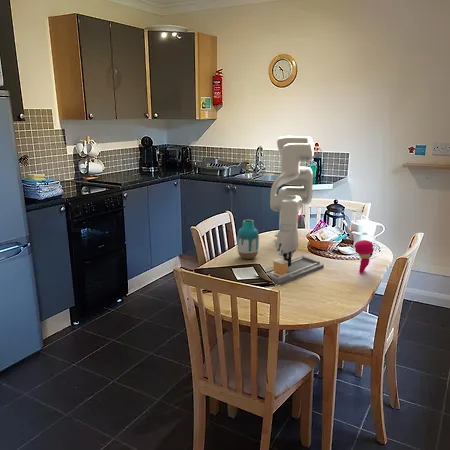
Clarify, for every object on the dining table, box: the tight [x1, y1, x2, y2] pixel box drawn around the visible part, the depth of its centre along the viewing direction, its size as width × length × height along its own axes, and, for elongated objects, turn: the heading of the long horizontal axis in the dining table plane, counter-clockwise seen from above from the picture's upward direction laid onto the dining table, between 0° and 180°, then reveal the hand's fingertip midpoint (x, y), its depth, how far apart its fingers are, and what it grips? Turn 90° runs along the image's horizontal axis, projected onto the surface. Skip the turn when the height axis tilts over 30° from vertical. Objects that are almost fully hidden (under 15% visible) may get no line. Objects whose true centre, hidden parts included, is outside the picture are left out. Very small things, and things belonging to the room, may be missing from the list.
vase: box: [236, 219, 260, 260], centre depth 212 cm, size 11×11×19 cm
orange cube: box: [272, 258, 288, 274], centre depth 191 cm, size 4×5×5 cm
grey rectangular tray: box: [263, 255, 325, 286], centre depth 197 cm, size 31×14×3 cm, turn 131°
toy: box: [354, 239, 374, 274], centre depth 194 cm, size 8×8×15 cm
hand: (287, 265), depth 194 cm, fingers closed
